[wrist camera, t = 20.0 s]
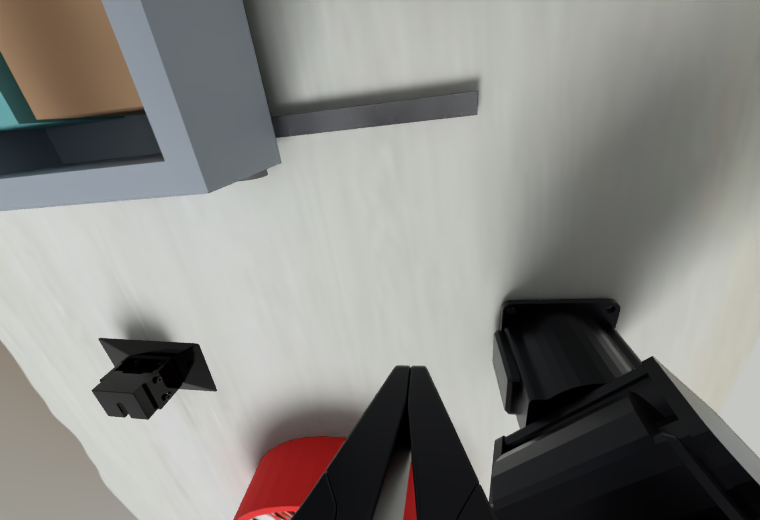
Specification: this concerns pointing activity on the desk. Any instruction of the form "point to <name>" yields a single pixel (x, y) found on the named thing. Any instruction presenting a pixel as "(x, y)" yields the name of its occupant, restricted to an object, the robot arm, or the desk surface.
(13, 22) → the tan cube
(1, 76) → the teal block
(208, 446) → the desk surface
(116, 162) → the box
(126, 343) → the black plastic bracket
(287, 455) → the toy clock
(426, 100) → the rails
